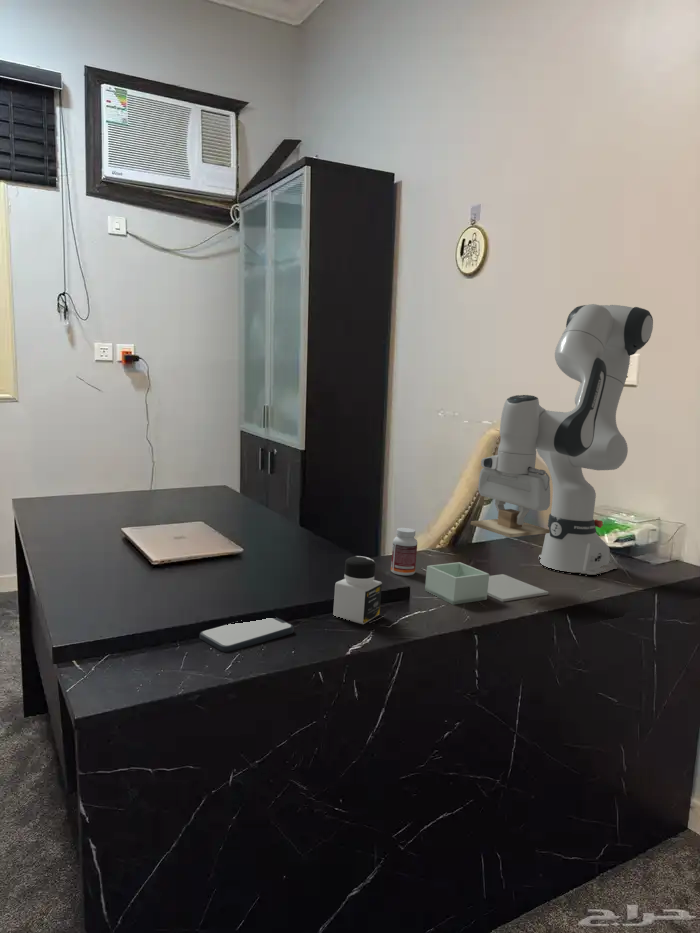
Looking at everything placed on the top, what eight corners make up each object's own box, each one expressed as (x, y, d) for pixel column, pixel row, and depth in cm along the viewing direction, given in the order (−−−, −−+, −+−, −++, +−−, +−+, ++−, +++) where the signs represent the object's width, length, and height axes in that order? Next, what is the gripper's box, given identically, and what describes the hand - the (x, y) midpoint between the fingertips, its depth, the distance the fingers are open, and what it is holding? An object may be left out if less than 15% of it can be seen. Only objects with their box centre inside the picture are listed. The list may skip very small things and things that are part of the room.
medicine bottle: (363, 625, 133) (368, 565, 131) (332, 616, 136) (336, 558, 134) (379, 615, 139) (384, 558, 137) (349, 607, 142) (353, 551, 141)
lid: (509, 520, 170) (510, 504, 170) (549, 533, 160) (551, 515, 159) (470, 524, 164) (472, 507, 163) (509, 537, 153) (511, 518, 152)
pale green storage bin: (457, 586, 162) (459, 562, 161) (486, 599, 154) (489, 573, 153) (424, 590, 157) (427, 565, 156) (453, 604, 149) (455, 578, 148)
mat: (502, 576, 174) (503, 574, 174) (548, 594, 161) (548, 591, 161) (458, 582, 166) (458, 579, 166) (502, 601, 153) (502, 599, 153)
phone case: (224, 657, 115) (296, 634, 126) (224, 648, 115) (297, 626, 126) (196, 640, 121) (267, 620, 132) (196, 631, 121) (267, 612, 132)
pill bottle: (420, 574, 170) (423, 531, 168) (400, 577, 166) (404, 533, 165) (404, 567, 175) (408, 526, 174) (385, 570, 172) (389, 527, 170)
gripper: (559, 470, 152) (553, 530, 154) (495, 458, 170) (490, 512, 171) (540, 471, 149) (533, 532, 151) (476, 458, 166) (471, 513, 168)
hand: (510, 521), depth 161 cm, fingers closed on lid, 4 cm apart
